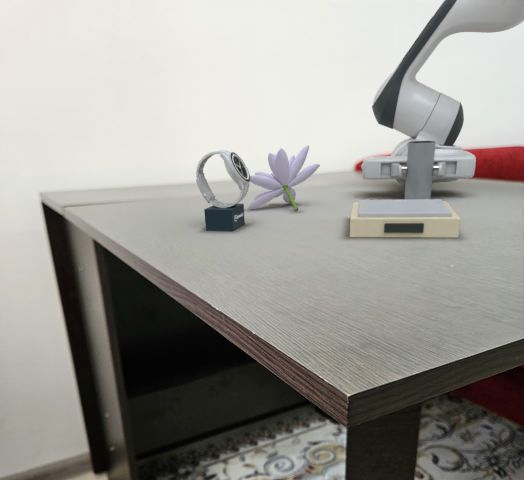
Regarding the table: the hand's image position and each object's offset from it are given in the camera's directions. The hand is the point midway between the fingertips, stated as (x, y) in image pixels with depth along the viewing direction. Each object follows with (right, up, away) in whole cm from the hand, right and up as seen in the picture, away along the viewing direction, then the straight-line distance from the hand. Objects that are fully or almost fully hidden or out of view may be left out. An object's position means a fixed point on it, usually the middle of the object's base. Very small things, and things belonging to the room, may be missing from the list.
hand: (420, 171), depth 91 cm
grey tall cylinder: (0, -5, +3) cm, 6 cm away
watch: (-33, -13, -11) cm, 37 cm away
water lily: (-24, -5, +4) cm, 25 cm away
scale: (-8, -14, -16) cm, 22 cm away
